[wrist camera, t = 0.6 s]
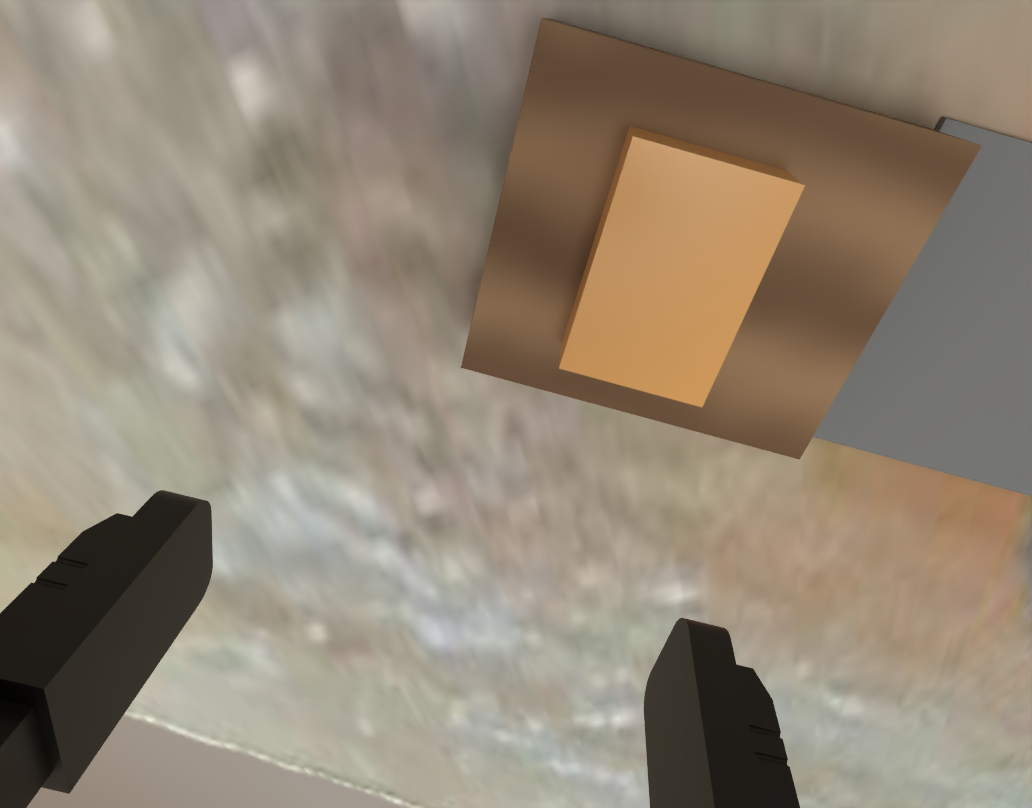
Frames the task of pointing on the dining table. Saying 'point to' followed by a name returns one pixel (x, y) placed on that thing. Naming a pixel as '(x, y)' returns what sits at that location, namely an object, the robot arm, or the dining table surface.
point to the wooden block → (792, 269)
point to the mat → (956, 335)
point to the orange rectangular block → (675, 265)
